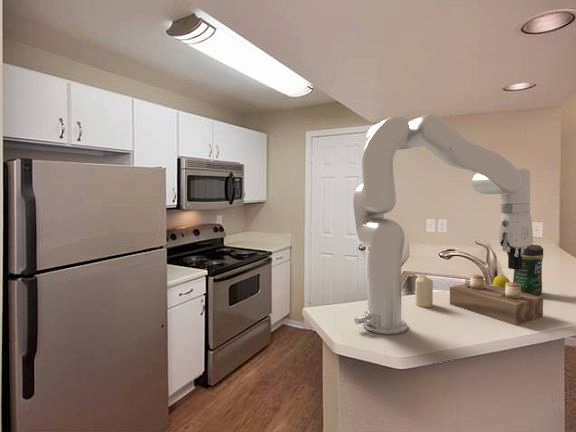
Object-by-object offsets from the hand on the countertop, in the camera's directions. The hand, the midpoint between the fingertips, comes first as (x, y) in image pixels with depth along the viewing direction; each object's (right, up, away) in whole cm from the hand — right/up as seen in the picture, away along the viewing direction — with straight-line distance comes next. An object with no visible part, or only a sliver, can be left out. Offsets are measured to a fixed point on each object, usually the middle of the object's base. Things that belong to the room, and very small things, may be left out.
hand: (515, 268), depth 107 cm
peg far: (-6, -10, +11) cm, 16 cm away
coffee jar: (+20, -13, +23) cm, 33 cm away
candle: (-23, -15, +13) cm, 30 cm away
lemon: (+9, -13, +21) cm, 26 cm away
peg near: (0, -11, +1) cm, 11 cm away
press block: (-3, -14, +6) cm, 16 cm away
